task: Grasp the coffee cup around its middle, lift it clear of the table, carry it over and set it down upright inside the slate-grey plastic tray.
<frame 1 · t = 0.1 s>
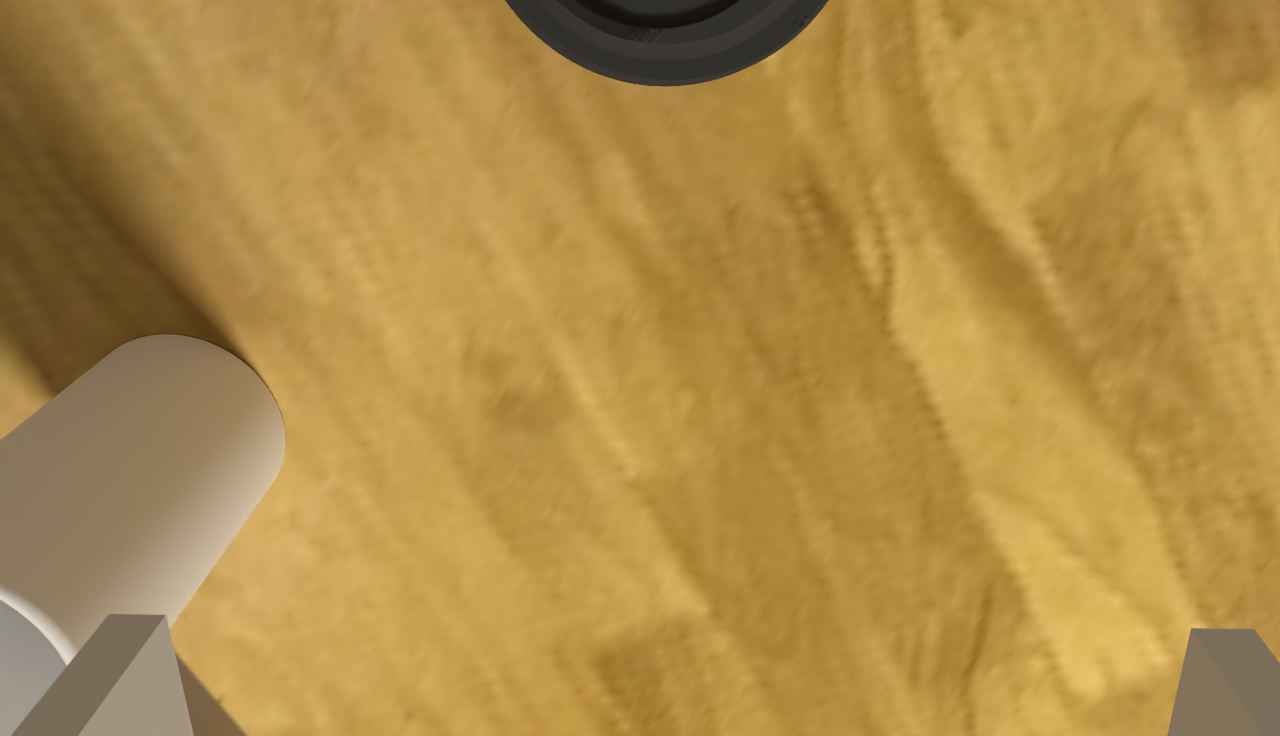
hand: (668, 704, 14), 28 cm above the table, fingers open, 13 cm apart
cup: (188, 425, 45), on the table
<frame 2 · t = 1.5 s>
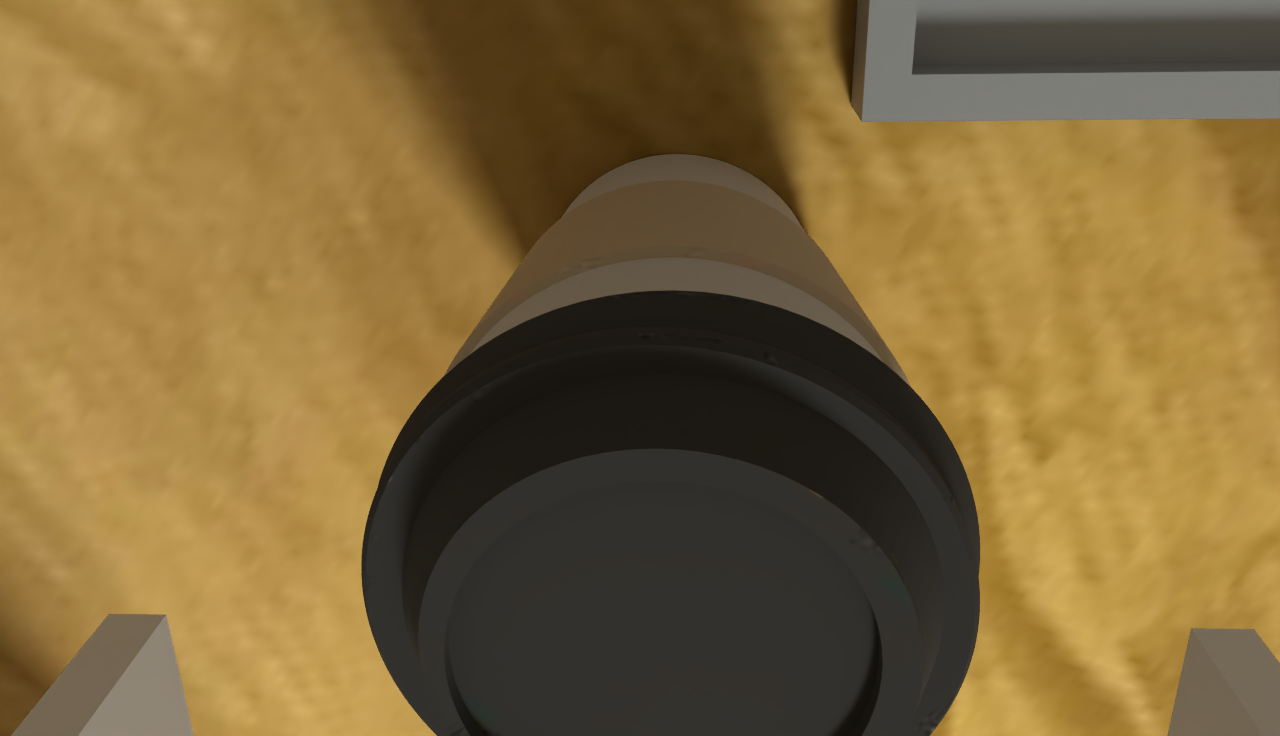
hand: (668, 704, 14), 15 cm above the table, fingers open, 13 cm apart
coffee cup: (680, 283, 28), on the table
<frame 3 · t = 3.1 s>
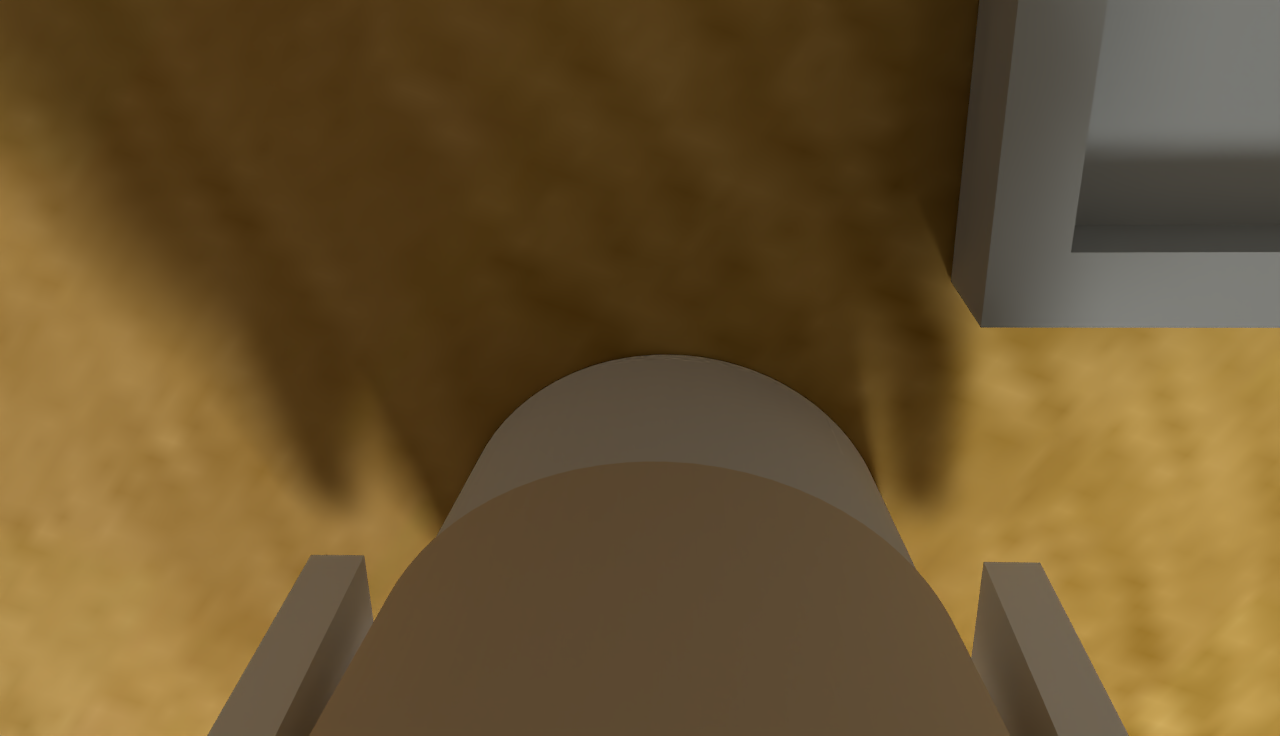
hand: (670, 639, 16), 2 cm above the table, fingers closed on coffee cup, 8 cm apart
coffee cup: (674, 540, 18), on the table, touching gripper
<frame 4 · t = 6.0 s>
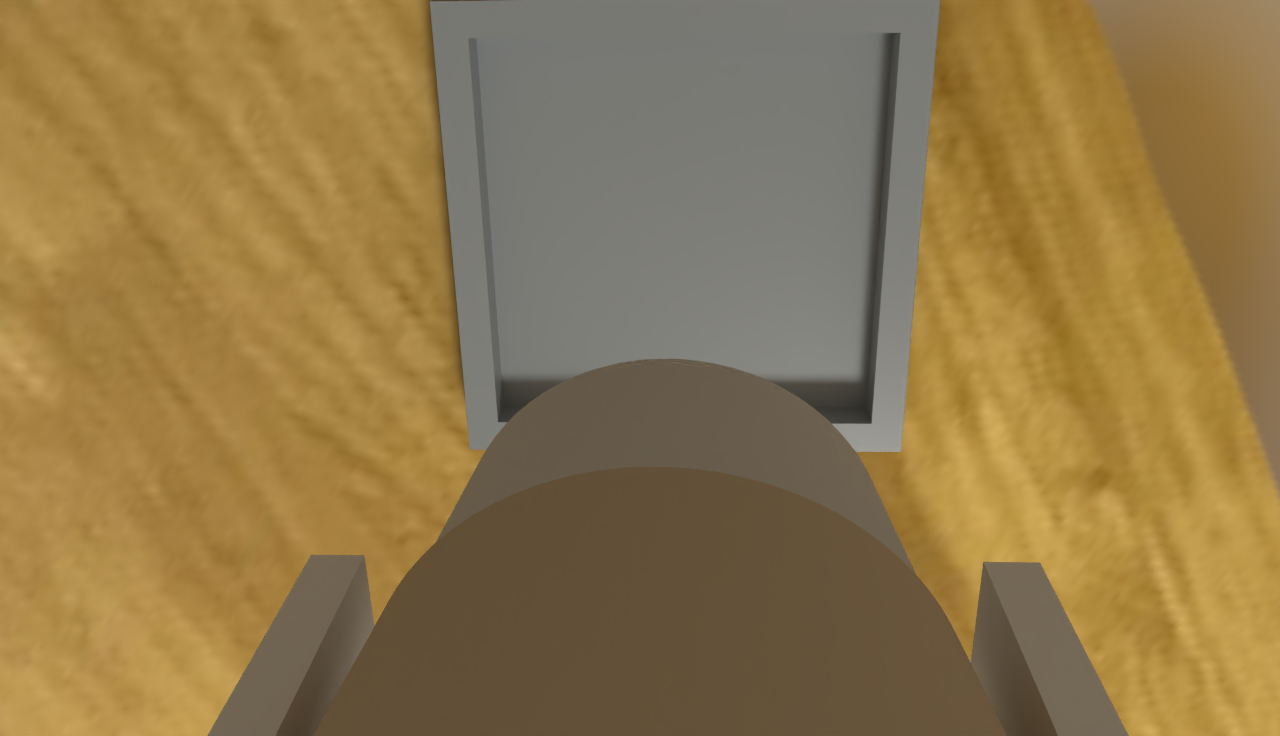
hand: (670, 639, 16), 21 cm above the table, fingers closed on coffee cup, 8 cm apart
coffee cup: (674, 543, 18), point 18 cm above the table, touching gripper
tray: (683, 226, 35), on the table
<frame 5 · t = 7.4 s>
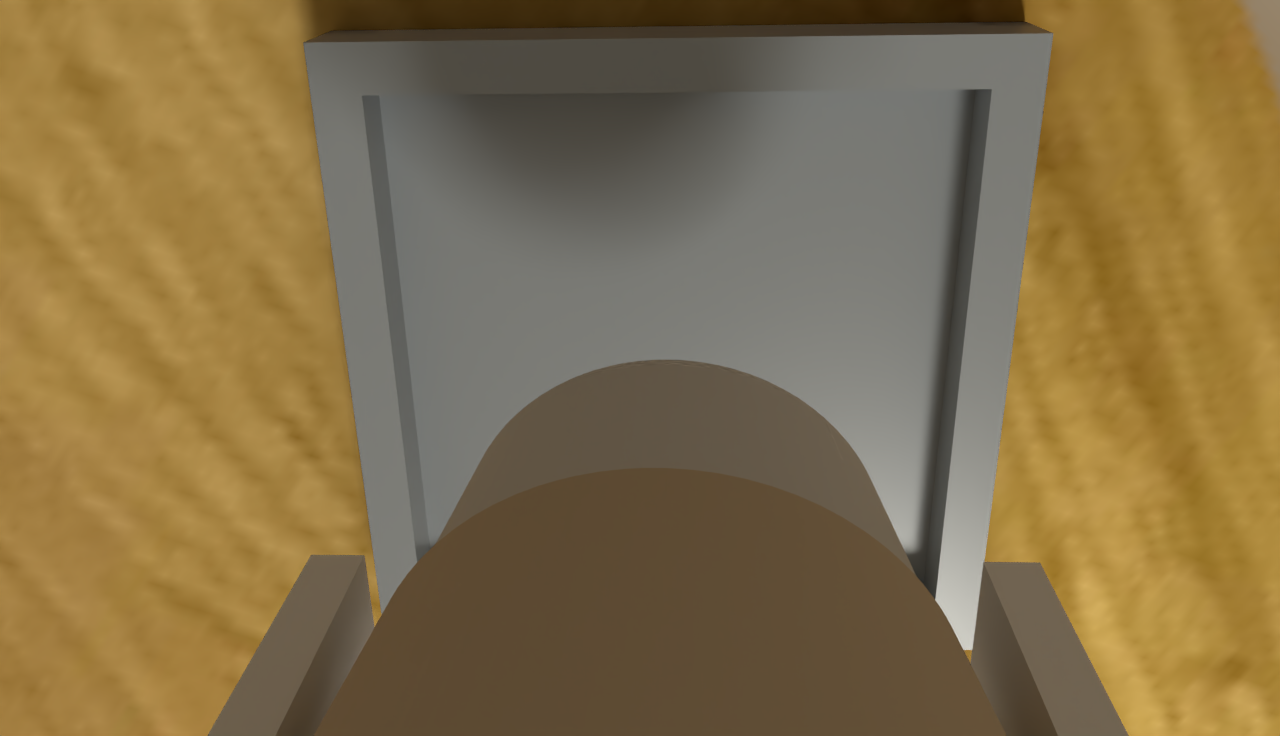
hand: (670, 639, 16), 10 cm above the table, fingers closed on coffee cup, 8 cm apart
coffee cup: (674, 544, 18), point 8 cm above the table, touching gripper
tray: (675, 346, 25), on the table
when the fingers open (4 cm above the table, at t = 8.9 s): coffee cup drops 1 cm, resting on tray.
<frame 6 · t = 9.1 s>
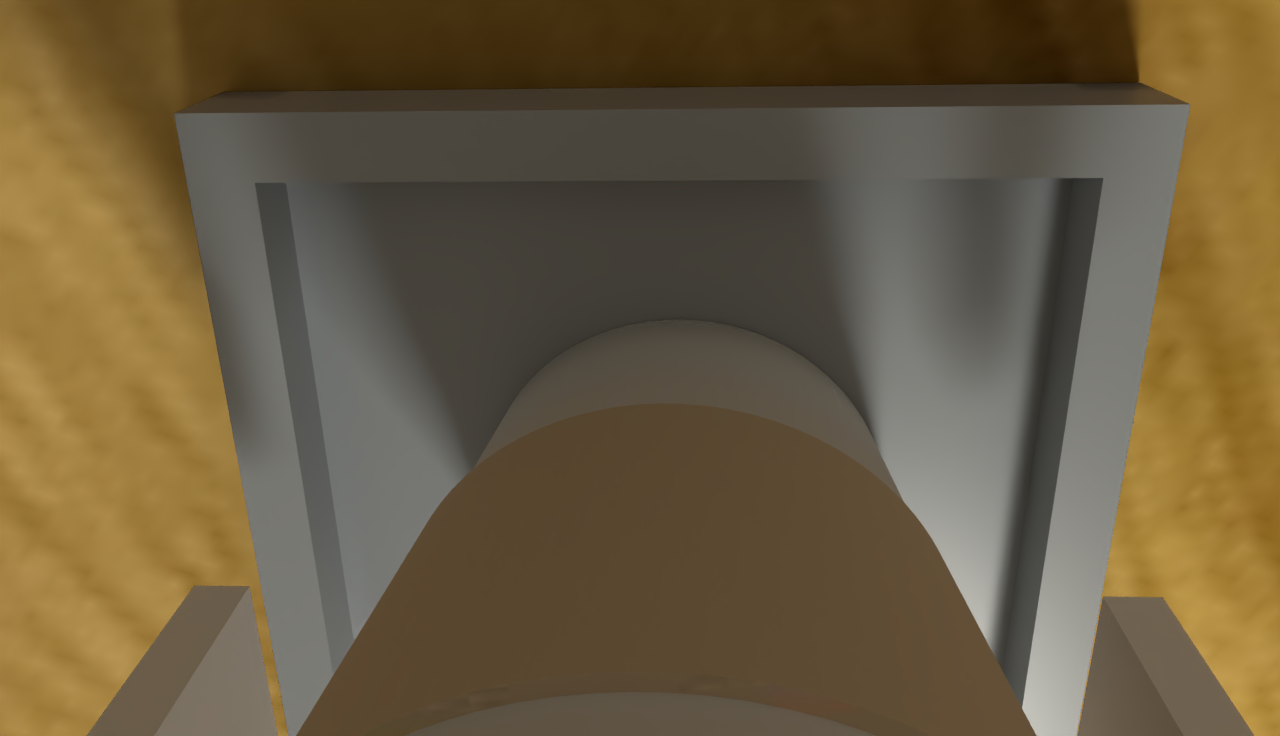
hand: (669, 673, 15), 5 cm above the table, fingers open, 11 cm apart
coffee cup: (685, 497, 19), resting on tray
tray: (675, 487, 20), on the table
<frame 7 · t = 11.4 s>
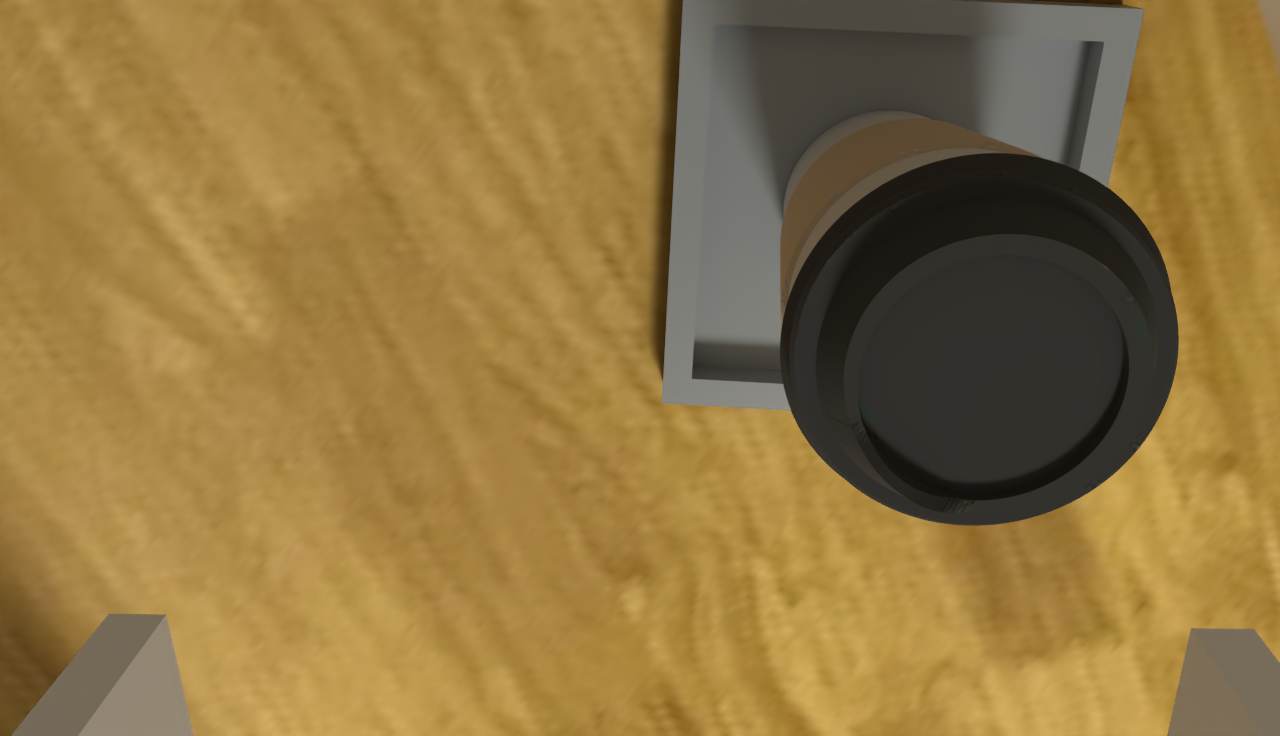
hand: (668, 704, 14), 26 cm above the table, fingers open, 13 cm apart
coffee cup: (883, 209, 37), resting on tray
tray: (875, 208, 38), on the table
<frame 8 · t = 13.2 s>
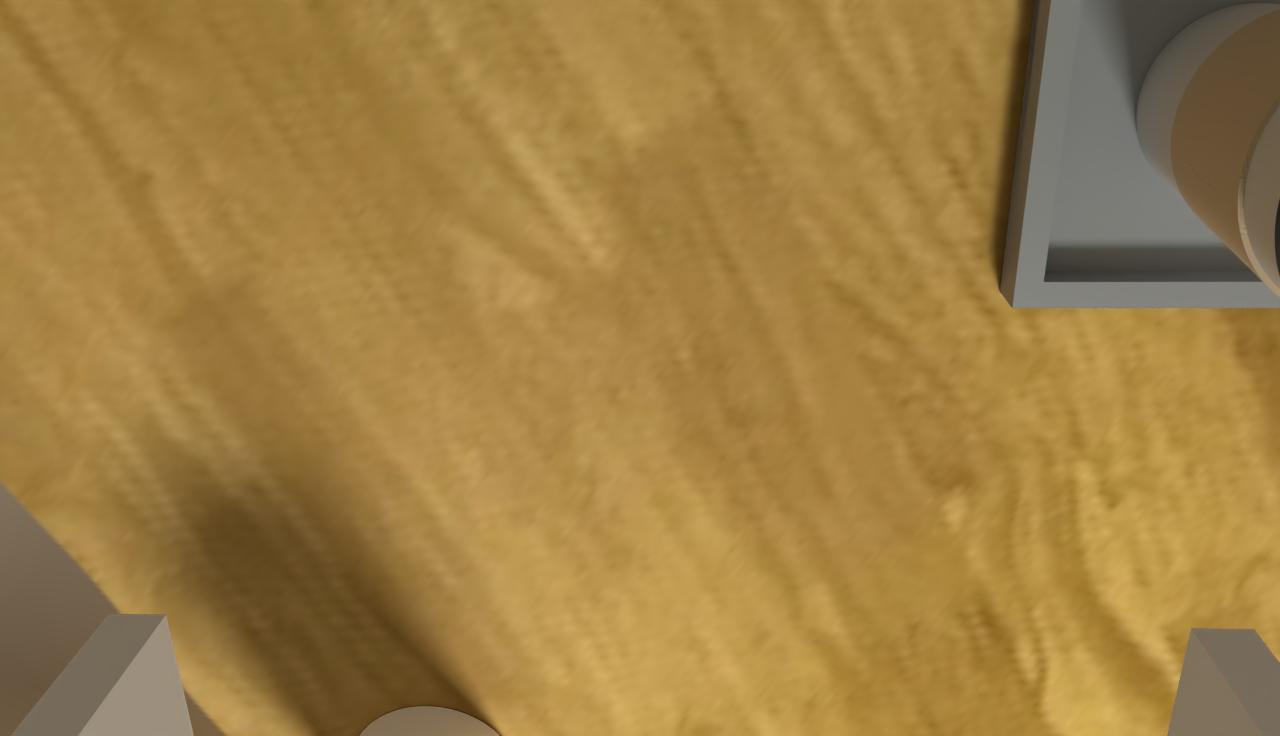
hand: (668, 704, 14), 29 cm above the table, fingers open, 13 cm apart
coffee cup: (1235, 104, 38), resting on tray
tray: (1223, 103, 39), on the table
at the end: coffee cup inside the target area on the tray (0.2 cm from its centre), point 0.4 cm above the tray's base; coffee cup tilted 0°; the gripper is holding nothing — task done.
